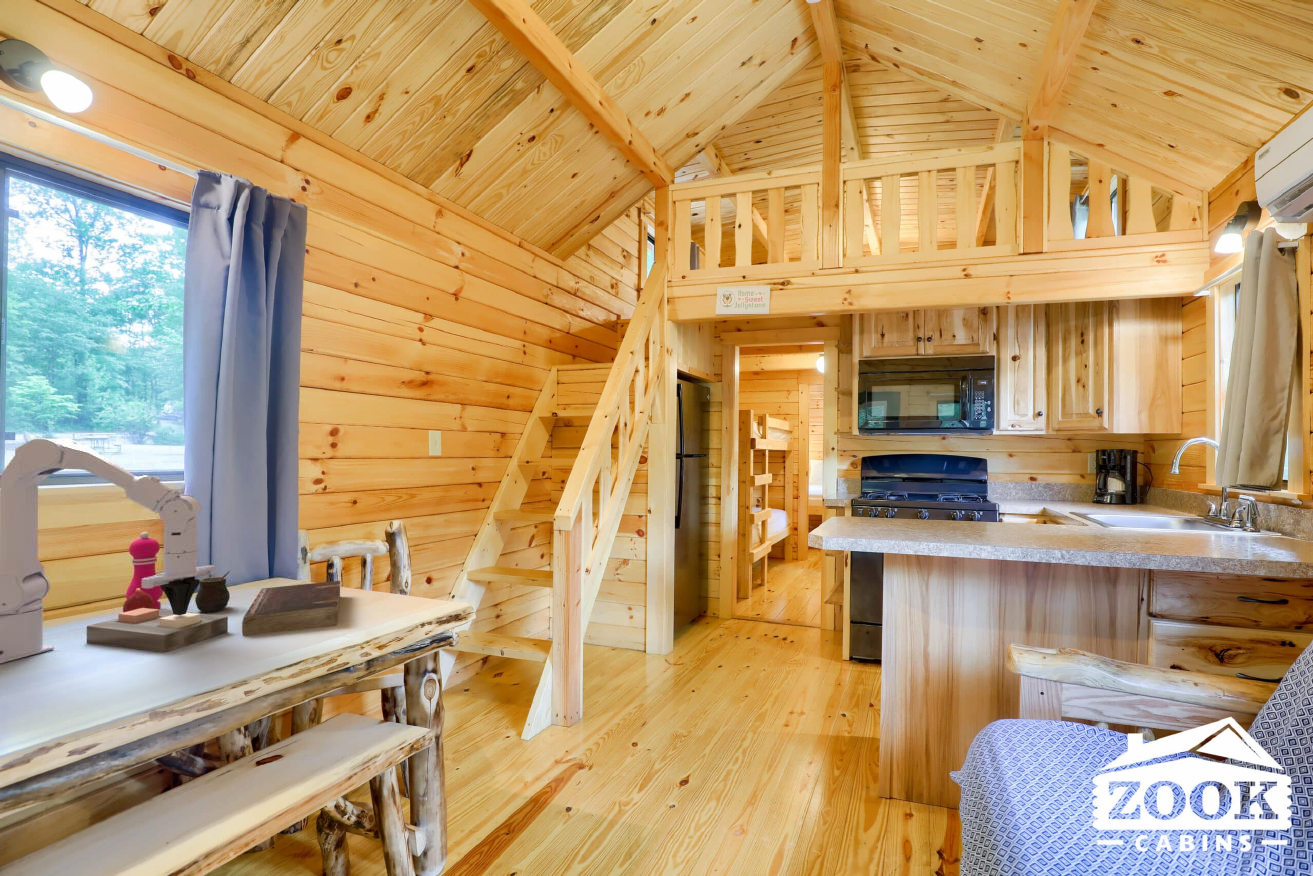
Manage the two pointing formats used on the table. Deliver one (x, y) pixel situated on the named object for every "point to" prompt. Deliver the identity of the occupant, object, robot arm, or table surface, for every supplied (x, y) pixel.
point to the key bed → (155, 632)
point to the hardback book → (293, 608)
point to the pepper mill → (144, 566)
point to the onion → (138, 601)
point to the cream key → (179, 620)
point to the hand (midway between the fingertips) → (179, 614)
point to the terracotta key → (138, 615)
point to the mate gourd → (212, 594)
